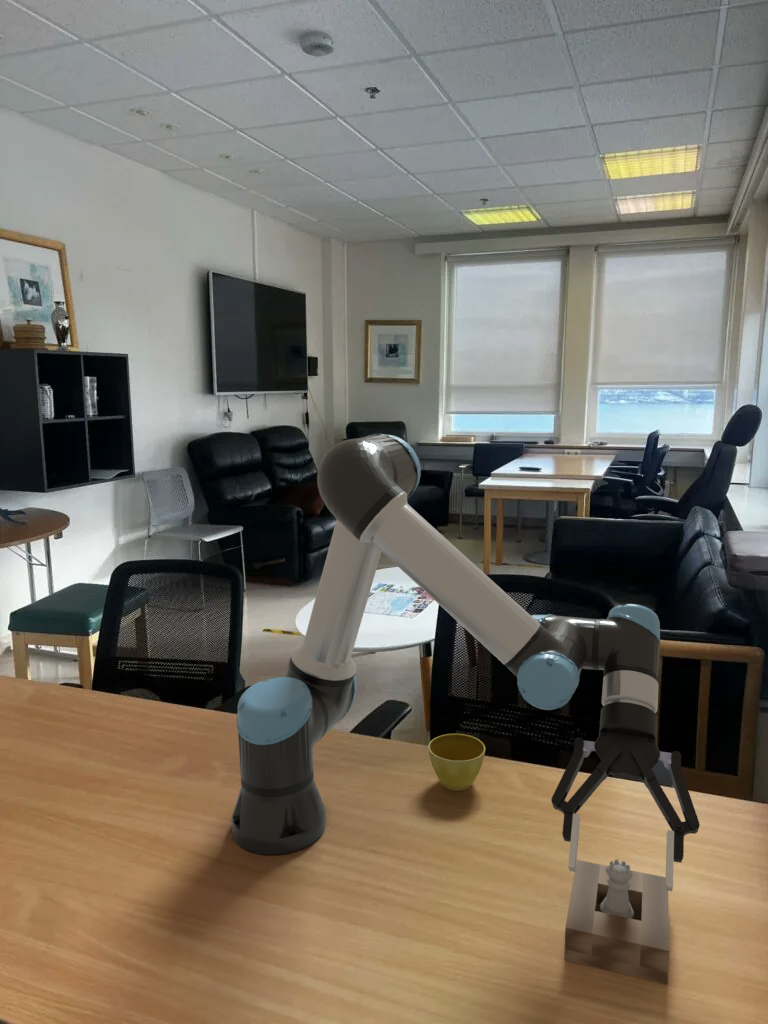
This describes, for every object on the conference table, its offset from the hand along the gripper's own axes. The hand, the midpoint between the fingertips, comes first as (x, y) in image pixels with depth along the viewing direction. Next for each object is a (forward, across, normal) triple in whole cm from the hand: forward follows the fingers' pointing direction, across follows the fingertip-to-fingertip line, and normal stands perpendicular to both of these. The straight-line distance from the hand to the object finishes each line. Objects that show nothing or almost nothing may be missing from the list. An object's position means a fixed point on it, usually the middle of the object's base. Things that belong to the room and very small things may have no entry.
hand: (619, 879), depth 93 cm
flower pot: (-16, +29, -30) cm, 44 cm away
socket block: (+5, 0, -9) cm, 10 cm away
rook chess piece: (+4, 0, -8) cm, 9 cm away
